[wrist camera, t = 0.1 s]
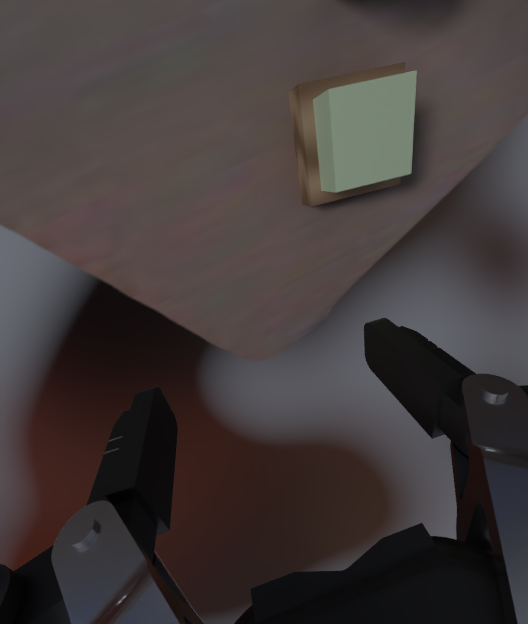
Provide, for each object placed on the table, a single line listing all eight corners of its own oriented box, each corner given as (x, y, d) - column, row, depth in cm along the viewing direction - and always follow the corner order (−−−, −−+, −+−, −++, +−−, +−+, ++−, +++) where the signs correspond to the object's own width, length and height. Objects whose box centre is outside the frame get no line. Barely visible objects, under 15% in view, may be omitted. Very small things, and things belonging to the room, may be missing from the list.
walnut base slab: (287, 94, 31) (298, 84, 28) (382, 74, 32) (404, 62, 29) (301, 203, 37) (311, 206, 34) (382, 183, 38) (400, 184, 35)
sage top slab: (312, 99, 29) (328, 89, 25) (390, 82, 30) (416, 70, 26) (321, 190, 33) (335, 192, 29) (389, 173, 34) (411, 173, 30)
